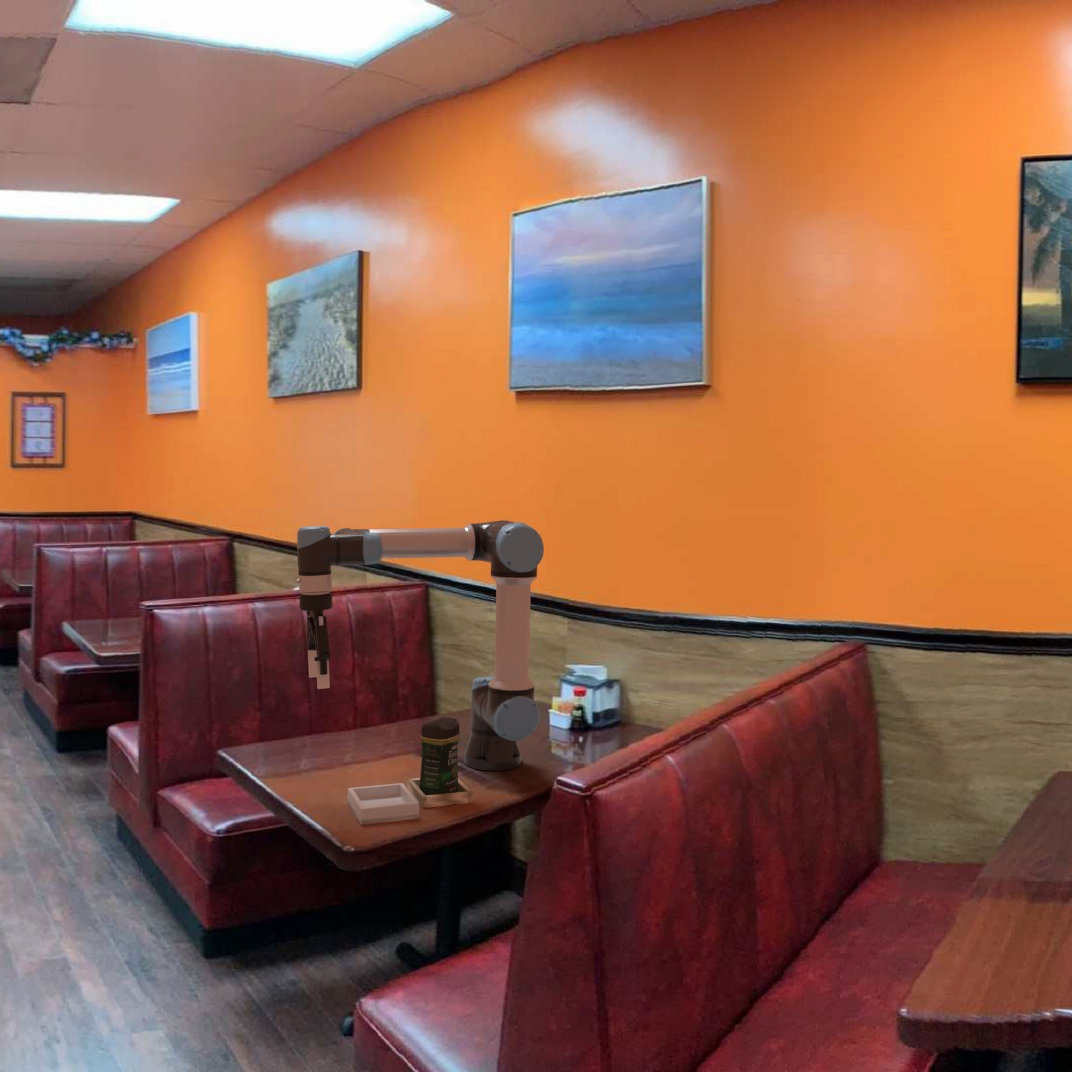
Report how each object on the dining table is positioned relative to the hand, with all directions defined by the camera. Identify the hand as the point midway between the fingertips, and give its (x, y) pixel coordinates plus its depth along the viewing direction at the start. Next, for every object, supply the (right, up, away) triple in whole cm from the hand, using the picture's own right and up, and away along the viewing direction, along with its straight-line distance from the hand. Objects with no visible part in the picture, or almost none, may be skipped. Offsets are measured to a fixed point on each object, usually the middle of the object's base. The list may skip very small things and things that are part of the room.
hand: (319, 682), depth 238 cm
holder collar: (+28, -28, +3) cm, 39 cm away
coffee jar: (+28, -28, +3) cm, 39 cm away
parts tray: (+16, -28, -8) cm, 33 cm away
